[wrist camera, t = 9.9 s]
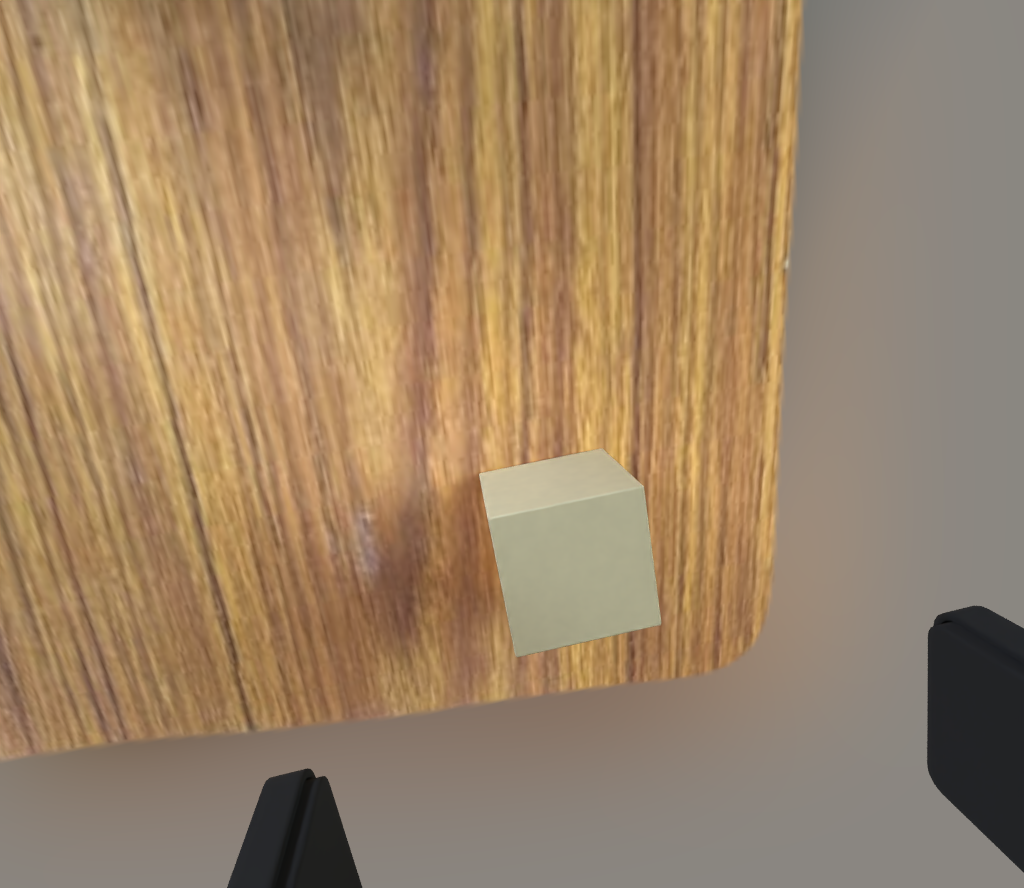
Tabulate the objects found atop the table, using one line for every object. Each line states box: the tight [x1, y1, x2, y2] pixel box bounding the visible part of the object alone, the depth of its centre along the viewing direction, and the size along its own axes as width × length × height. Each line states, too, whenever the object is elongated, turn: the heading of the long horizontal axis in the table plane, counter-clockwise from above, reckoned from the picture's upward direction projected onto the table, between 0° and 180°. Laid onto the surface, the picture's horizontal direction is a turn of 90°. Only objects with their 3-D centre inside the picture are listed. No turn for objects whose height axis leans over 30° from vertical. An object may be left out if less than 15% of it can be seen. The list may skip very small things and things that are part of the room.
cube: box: [479, 448, 661, 657], centre depth 17 cm, size 4×4×4 cm
